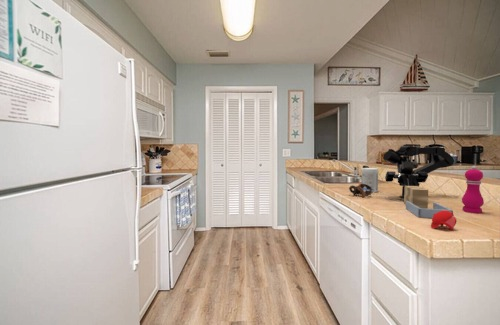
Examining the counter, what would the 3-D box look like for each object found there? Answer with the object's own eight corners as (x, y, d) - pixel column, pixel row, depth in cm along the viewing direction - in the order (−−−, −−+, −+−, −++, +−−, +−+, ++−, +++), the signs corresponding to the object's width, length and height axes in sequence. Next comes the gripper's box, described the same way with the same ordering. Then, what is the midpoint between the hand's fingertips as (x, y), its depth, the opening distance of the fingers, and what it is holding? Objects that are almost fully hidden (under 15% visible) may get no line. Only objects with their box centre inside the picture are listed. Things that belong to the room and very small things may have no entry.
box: (405, 208, 117) (405, 200, 117) (434, 210, 114) (435, 202, 114) (418, 217, 102) (419, 208, 102) (452, 219, 99) (453, 210, 99)
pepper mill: (474, 209, 115) (476, 165, 114) (487, 213, 108) (490, 166, 107) (457, 209, 116) (459, 165, 114) (469, 213, 108) (471, 166, 107)
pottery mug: (367, 195, 152) (372, 184, 148) (368, 205, 144) (374, 194, 140) (346, 189, 154) (351, 178, 150) (347, 199, 146) (352, 188, 142)
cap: (446, 215, 92) (431, 207, 93) (461, 214, 87) (445, 204, 87) (439, 235, 90) (424, 226, 90) (454, 235, 84) (438, 225, 85)
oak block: (403, 203, 128) (404, 185, 128) (417, 204, 127) (418, 186, 126) (412, 209, 117) (413, 189, 116) (427, 209, 115) (428, 189, 115)
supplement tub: (369, 189, 170) (370, 167, 169) (381, 192, 161) (382, 168, 160) (357, 190, 167) (358, 168, 166) (369, 193, 158) (369, 169, 157)
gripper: (386, 156, 136) (391, 179, 126) (427, 156, 131) (435, 180, 121) (383, 169, 144) (387, 192, 134) (421, 170, 139) (428, 194, 129)
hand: (409, 189), depth 129 cm, fingers closed
